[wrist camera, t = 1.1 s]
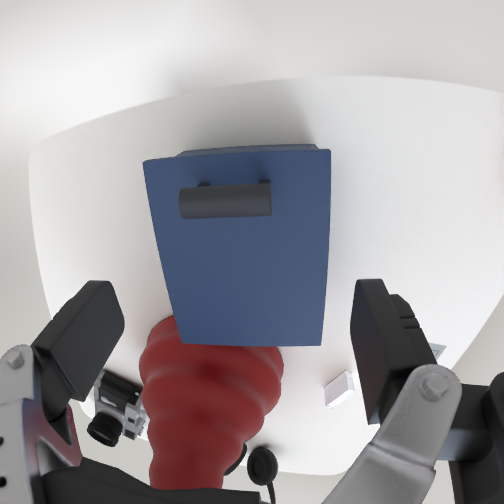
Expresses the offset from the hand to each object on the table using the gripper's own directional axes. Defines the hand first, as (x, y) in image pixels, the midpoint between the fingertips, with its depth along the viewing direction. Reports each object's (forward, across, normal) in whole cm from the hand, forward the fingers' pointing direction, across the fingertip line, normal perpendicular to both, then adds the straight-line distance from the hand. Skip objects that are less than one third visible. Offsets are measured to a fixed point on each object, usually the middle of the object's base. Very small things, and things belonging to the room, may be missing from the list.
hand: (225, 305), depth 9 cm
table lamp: (+22, +8, +27) cm, 35 cm away
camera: (+22, +29, +40) cm, 54 cm away
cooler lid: (+13, +1, +5) cm, 14 cm away
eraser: (+22, -9, +31) cm, 39 cm away
